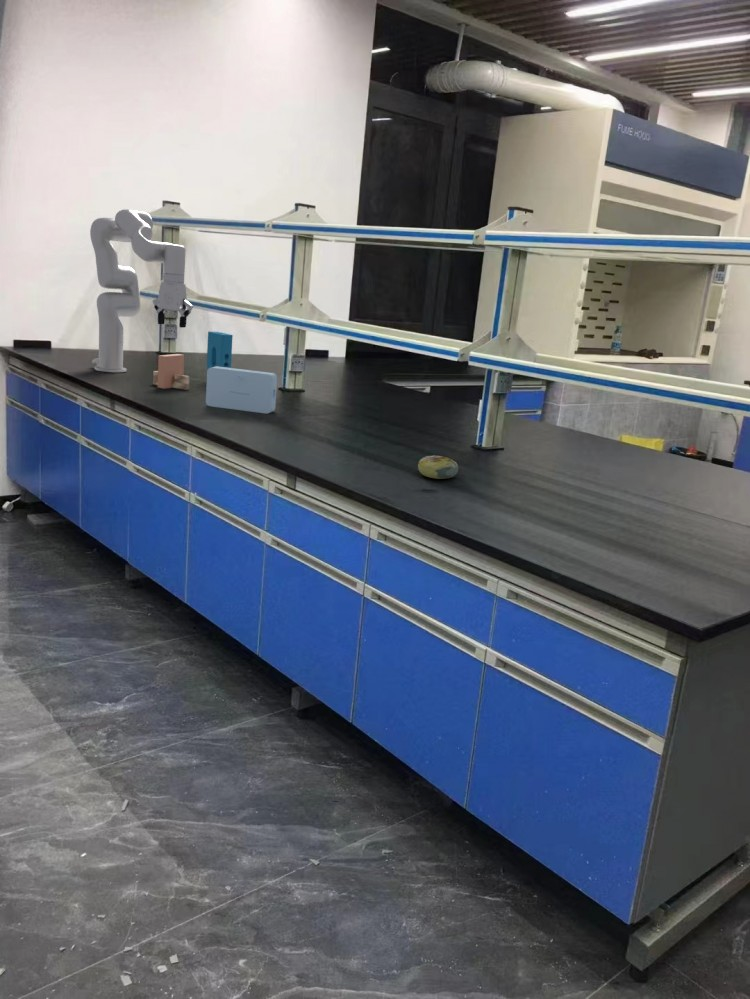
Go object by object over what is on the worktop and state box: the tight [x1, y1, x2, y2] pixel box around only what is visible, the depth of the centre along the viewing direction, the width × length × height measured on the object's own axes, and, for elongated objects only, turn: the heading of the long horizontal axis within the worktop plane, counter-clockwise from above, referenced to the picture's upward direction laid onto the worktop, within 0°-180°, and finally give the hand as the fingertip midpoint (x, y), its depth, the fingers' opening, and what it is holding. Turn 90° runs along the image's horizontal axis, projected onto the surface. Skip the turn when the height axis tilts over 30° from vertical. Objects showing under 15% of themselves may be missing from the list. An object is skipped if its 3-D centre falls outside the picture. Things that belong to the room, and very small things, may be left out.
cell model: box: [417, 455, 459, 480], centre depth 222 cm, size 10×8×14 cm
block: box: [206, 330, 233, 371], centre depth 344 cm, size 12×5×20 cm, turn 41°
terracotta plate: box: [157, 353, 185, 389], centre depth 324 cm, size 3×12×12 cm, turn 157°
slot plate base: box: [152, 370, 190, 391], centre depth 324 cm, size 15×2×5 cm, turn 68°
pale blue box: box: [205, 366, 278, 415], centre depth 291 cm, size 23×6×13 cm, turn 79°
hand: (171, 325), depth 320 cm, fingers open, 9 cm apart
